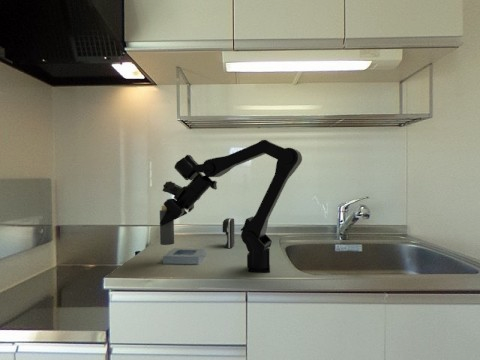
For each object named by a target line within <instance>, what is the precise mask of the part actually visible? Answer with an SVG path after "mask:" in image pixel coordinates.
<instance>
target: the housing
mask: <svg viewBox="0 0 480 360" xmlns="http://www.w3.org/2000/svg"><path fill="white" fill-rule="evenodd" d="M206 257H207V248H182V247H181V248H178V247H174V248H172V249H170V250H169V251H168V252H167V253H165V254H163V255H162V264H163V265H164V264H165V265H166V264H167V265H197V266H198V265H200V263H201V262H202V261H203V260H204V259H205V258H206Z"/></svg>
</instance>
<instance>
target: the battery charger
mask: <svg viewBox="0 0 480 360" xmlns="http://www.w3.org/2000/svg"><path fill="white" fill-rule="evenodd" d="M222 233H225V235H226V244H224V245H223V246H224V248H225V249H231V248H233V247H234V245H235V218H233V217H230V218H225V219H224V220H223V221H222Z"/></svg>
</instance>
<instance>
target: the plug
mask: <svg viewBox="0 0 480 360" xmlns="http://www.w3.org/2000/svg"><path fill="white" fill-rule="evenodd" d="M166 211H167V209H166V206H165V205H161V209H160V210H159V223H160V222H161V220H162V218H163V216H164V215H165V213H166ZM174 225H175V220H173V221H171V222H169V223H167V224H165V225H163V226H161V225H160V224H159V235H160V236H159V238H160V239H159V242H160V245H161V246H170V245H174V244H175V226H174Z"/></svg>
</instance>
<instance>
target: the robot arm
mask: <svg viewBox="0 0 480 360" xmlns="http://www.w3.org/2000/svg"><path fill="white" fill-rule="evenodd" d="M263 155H267V156H269V157H271V158H273V159H276V160H277V161H276V164H275V172H274V175H273V177H272V179H271V181H270V183H269V185H268V188H267V190H266V192H265V193H264V196H263V198H262V201H261V202H260V204H259V207H258V209H257V211H256V213H255V215H254V216H250V217H248V218H246V219H245V221H244V225H243V227H242V228H240V231H241V233H240V238H241V241H242V242H243V243H244V245H245V246H246V249H247V251H248V252H247V255H246V257H247V258H246V267H247V269H248V270H247V272H251V273H253V272H255V273H258V272H259V273H265V272H266V273H270V272H271V265H270V263H271V261H270V260H271V257H270V256H271V254H270V253H271V251H270V248H271V246H272V243H273V241H272V239H271V238H270V237H269V236H268V235H267V234H266V233H267V229H268V222H269V219H270V216H271V215H272V213H273V211H274V208H275V207H276V204H277V202H278V201H279V198H280V197H281V194H282V192H283V190H284V189H285V186H286V184H287V182H288V180H289V179H290V178H291V176H292V175H293V174H294V173H295V172H296V171H297V169H298V168H299V166H300V165H301V164H302V161H303V156H302V154H301V152H300V151H299V150H298V149H295V148H293V147H285V148H284V147H282V146H281V145H278V144H276V143H273V142H272V141H270V140H268V139H261V140H259V141H258V142H257V143H253V144H251V145H249V146H247V147H245V148H242V149H240V150H237V151H235V152H232V153H231V154H228V155H224V156H217V157H213V158H209V159H206V160H204V162H203V163H201V164H199V163H198V162H197V161H196V160H195V159H194V158H193V156H191V154H186V155H185V156H184V157H182V158H180V159H179V160H178V161H176V163H175V164H174V169H175V171H176V172H177V173H178V174H179V175H180V176H181V177H182V178H183V179H184V180H185V181H190V182H189V183H188V184H187V185H186V186H185V185H184V186H181V185H179V184H176V183H175V182H173V181H170V180H169V181H165V183H164V184H163V189H162V192H163V193H168V194H170V195H172V196H173V198H168V199H167V198H166V201H164V202H163V206H166V209H167V211H166V213H165V215H164V216H163V218H162V220H161V222H160V221H159V226H160V225H161V226H163V225H165V224H167V223H169V222H171V221H173V220H174V221H175V220H176V219H179V218H181V217H183V216H185V215H187V214H188V213H191V212H192V211H193V210H194V209H195V203H196V202H198V201H199V200H200V199H201V197H202V196H203V195H204V194H205V193H206V191H208V189H212V190H215V191H216V190H217V189H218V185H217V183H218V182H217V180H212V178H220V177H222V176H224V175H225V174H227V173H228V172H230V171H231V170H232V169H233V168H235V167H237V166H239V165H242V164H244V163H247V162H249V161H252V160H254V159H256V158H259V157H261V156H263ZM186 210H187V211H186Z"/></svg>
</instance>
